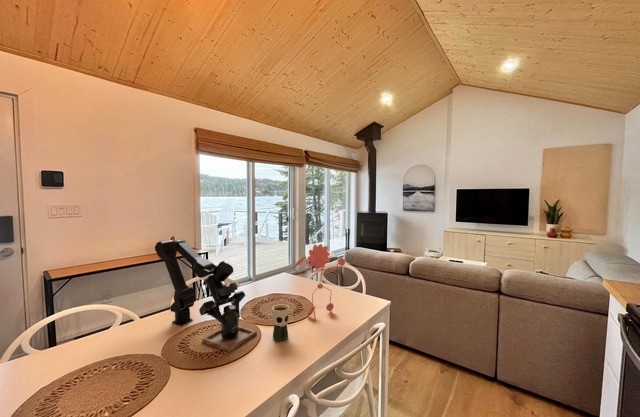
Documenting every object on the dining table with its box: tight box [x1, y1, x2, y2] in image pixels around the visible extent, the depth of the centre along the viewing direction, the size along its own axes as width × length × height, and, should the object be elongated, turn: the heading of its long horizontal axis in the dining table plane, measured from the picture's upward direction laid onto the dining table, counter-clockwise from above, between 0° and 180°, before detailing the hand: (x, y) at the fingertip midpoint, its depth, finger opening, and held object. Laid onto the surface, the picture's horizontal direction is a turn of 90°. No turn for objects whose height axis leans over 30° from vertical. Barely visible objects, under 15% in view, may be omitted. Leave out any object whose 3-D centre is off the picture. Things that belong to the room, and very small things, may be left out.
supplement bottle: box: [220, 304, 240, 339], centre depth 114 cm, size 7×7×12 cm
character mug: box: [267, 304, 294, 342], centre depth 114 cm, size 11×7×13 cm, turn 118°
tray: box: [201, 325, 257, 353], centre depth 114 cm, size 15×15×2 cm
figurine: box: [294, 243, 346, 321], centre depth 139 cm, size 15×26×35 cm, turn 116°
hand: (231, 320), depth 113 cm, fingers closed on supplement bottle, 7 cm apart
